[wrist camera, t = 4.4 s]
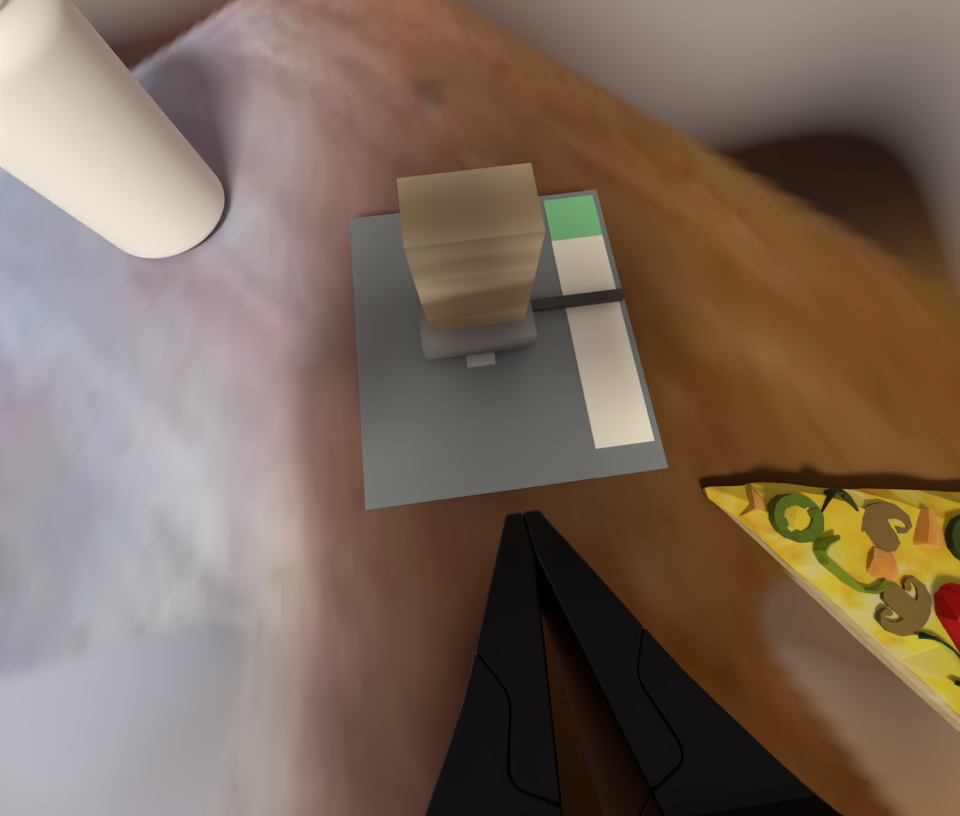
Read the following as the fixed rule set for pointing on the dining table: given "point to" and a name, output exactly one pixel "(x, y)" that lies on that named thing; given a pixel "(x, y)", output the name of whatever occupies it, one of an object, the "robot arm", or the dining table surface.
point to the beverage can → (97, 135)
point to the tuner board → (499, 376)
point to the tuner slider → (478, 259)
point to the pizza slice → (871, 570)
